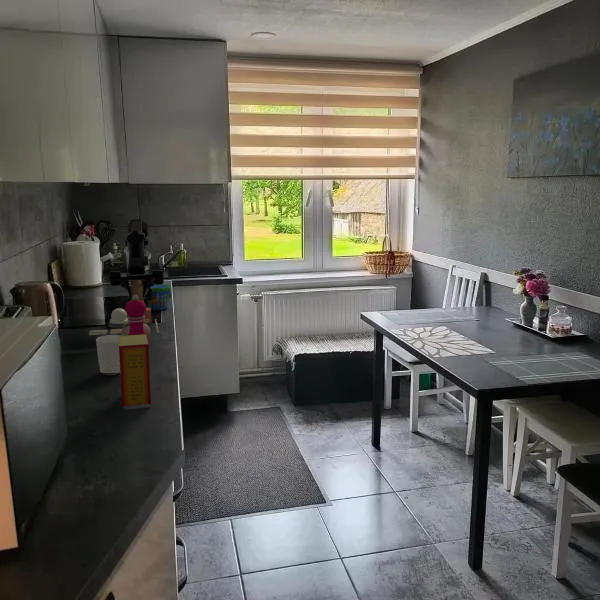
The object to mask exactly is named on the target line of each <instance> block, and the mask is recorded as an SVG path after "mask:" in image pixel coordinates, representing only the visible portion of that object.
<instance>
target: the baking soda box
mask: <svg viewBox="0 0 600 600" xmlns="http://www.w3.org/2000/svg"><path fill="white" fill-rule="evenodd" d="M118 338H119V358H120V375H119V376H120V391H121V408H122V407H124V406H131V405H142V404H151V405H152V401H151V400H152V399H151V398H152V397H151V377H150V375H151V374H150V372H151V371H150V353H149V352H150V351H149V349H150V347H149V348H148V341H147V336H146V334H140V335H126V336H118Z"/></svg>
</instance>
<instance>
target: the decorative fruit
mask: <svg viewBox="0 0 600 600" xmlns="http://www.w3.org/2000/svg"><path fill="white" fill-rule="evenodd" d="M149 325H150V323H148V322H147V321H144V322H143V327H144V331H145V333H146V335H147V337H148V339H150V337H151V328H150V326H149ZM123 326H124V327H123ZM122 327H123V328H121V329H122V331H121V333H120V335H122V336H126V335H128V334H129V331H130V323H129V322H127V323H125V324H124V325H122Z"/></svg>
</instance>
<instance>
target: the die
mask: <svg viewBox="0 0 600 600" xmlns="http://www.w3.org/2000/svg"><path fill="white" fill-rule="evenodd" d="M144 316H145V317H144V318H145V320H144V321H147V322H148V323H149V324H153V323H152V310H151V308H150V307H148V308H146V314H145V315H144ZM148 323H147V324H148Z"/></svg>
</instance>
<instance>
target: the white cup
mask: <svg viewBox="0 0 600 600" xmlns="http://www.w3.org/2000/svg"><path fill="white" fill-rule="evenodd" d="M118 336H122V335H121V334H105V335H102V336H98V337H97V338H96V339H95V341H96V351H97V359H98V360H97V361H98V365H99V373H100V372H101V373H119V372H120V358H119V338H118Z"/></svg>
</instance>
